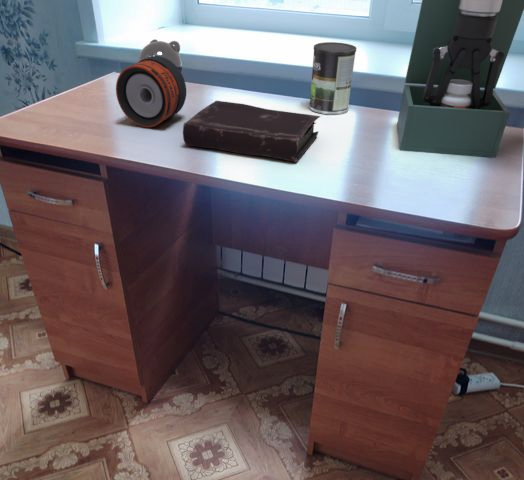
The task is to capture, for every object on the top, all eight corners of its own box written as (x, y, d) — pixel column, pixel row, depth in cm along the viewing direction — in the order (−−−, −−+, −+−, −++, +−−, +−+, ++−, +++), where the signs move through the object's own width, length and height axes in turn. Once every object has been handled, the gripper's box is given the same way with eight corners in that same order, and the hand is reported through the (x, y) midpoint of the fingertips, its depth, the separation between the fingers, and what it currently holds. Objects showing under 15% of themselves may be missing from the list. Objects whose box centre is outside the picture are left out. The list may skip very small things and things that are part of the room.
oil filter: (120, 124, 118) (110, 62, 109) (145, 110, 127) (138, 51, 118) (170, 131, 115) (164, 67, 106) (192, 116, 124) (188, 56, 115)
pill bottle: (447, 145, 108) (462, 87, 101) (425, 136, 112) (438, 80, 104) (466, 140, 111) (482, 83, 103) (444, 132, 115) (458, 77, 107)
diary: (295, 164, 102) (297, 139, 98) (183, 147, 108) (181, 123, 104) (318, 135, 115) (321, 112, 112) (218, 121, 121) (217, 99, 118)
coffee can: (312, 115, 126) (317, 50, 117) (306, 102, 134) (310, 41, 125) (352, 114, 127) (360, 51, 118) (344, 102, 135) (351, 42, 126)
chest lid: (528, -2, 99) (523, -17, 103) (424, -7, 101) (423, -21, 105) (495, 88, 113) (492, 72, 117) (404, 83, 115) (404, 67, 119)
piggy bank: (191, 83, 146) (188, 38, 138) (171, 97, 135) (167, 48, 128) (155, 80, 148) (151, 35, 140) (133, 93, 137) (126, 45, 129)
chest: (495, 157, 107) (509, 112, 101) (399, 150, 109) (408, 105, 103) (482, 131, 120) (494, 90, 114) (396, 125, 122) (404, 84, 116)
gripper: (525, 12, 98) (488, 135, 113) (425, 7, 100) (401, 128, 115) (535, 18, 92) (494, 146, 107) (428, 13, 94) (403, 140, 109)
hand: (446, 137), depth 111 cm, fingers closed on pill bottle, 6 cm apart
